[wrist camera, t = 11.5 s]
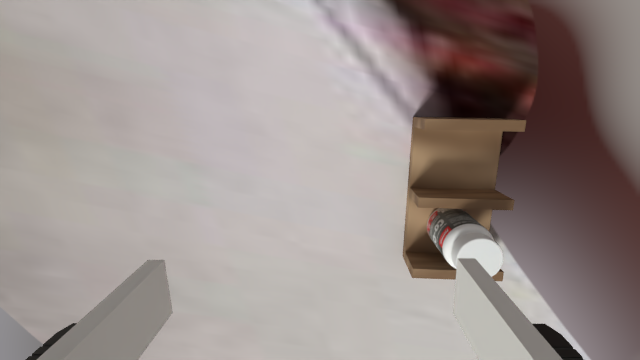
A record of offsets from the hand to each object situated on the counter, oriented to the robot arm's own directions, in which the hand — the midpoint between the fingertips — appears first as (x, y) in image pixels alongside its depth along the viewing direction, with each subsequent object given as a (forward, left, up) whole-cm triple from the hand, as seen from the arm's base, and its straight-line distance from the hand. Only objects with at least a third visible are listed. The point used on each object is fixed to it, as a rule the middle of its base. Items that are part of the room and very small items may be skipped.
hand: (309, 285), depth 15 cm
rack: (+1, +14, -23) cm, 27 cm away
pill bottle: (+5, +14, -22) cm, 26 cm away
